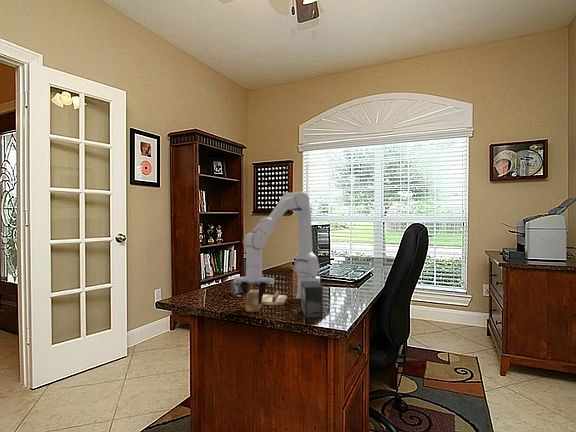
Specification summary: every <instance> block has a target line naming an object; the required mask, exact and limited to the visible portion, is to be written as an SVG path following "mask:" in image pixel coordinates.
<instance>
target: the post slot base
mask: <svg viewBox="0 0 576 432" xmlns="http://www.w3.org/2000/svg"><path fill="white" fill-rule="evenodd" d="M287 298H288V295H285V294H280V291H279V290H276V291H275V292H274V294H263V297H262V303H261V306H264V305H269V306H284V304H285V302H286V300H287Z"/></svg>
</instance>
